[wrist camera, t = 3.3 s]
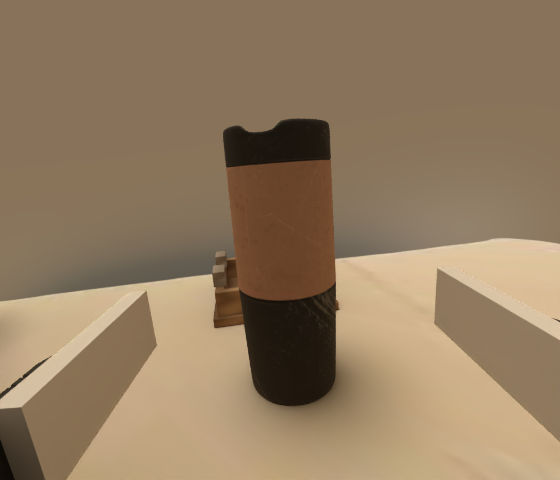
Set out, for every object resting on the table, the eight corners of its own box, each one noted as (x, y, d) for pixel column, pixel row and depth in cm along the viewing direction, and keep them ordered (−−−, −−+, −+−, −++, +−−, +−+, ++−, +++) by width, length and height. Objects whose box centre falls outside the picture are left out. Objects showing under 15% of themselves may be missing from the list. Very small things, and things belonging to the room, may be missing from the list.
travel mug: (304, 338, 30) (292, 135, 26) (358, 381, 24) (355, 119, 19) (235, 367, 27) (206, 136, 22) (277, 426, 20) (248, 116, 15)
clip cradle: (214, 327, 34) (208, 280, 32) (219, 281, 48) (215, 248, 47) (338, 309, 36) (337, 264, 34) (307, 270, 50) (305, 238, 49)
